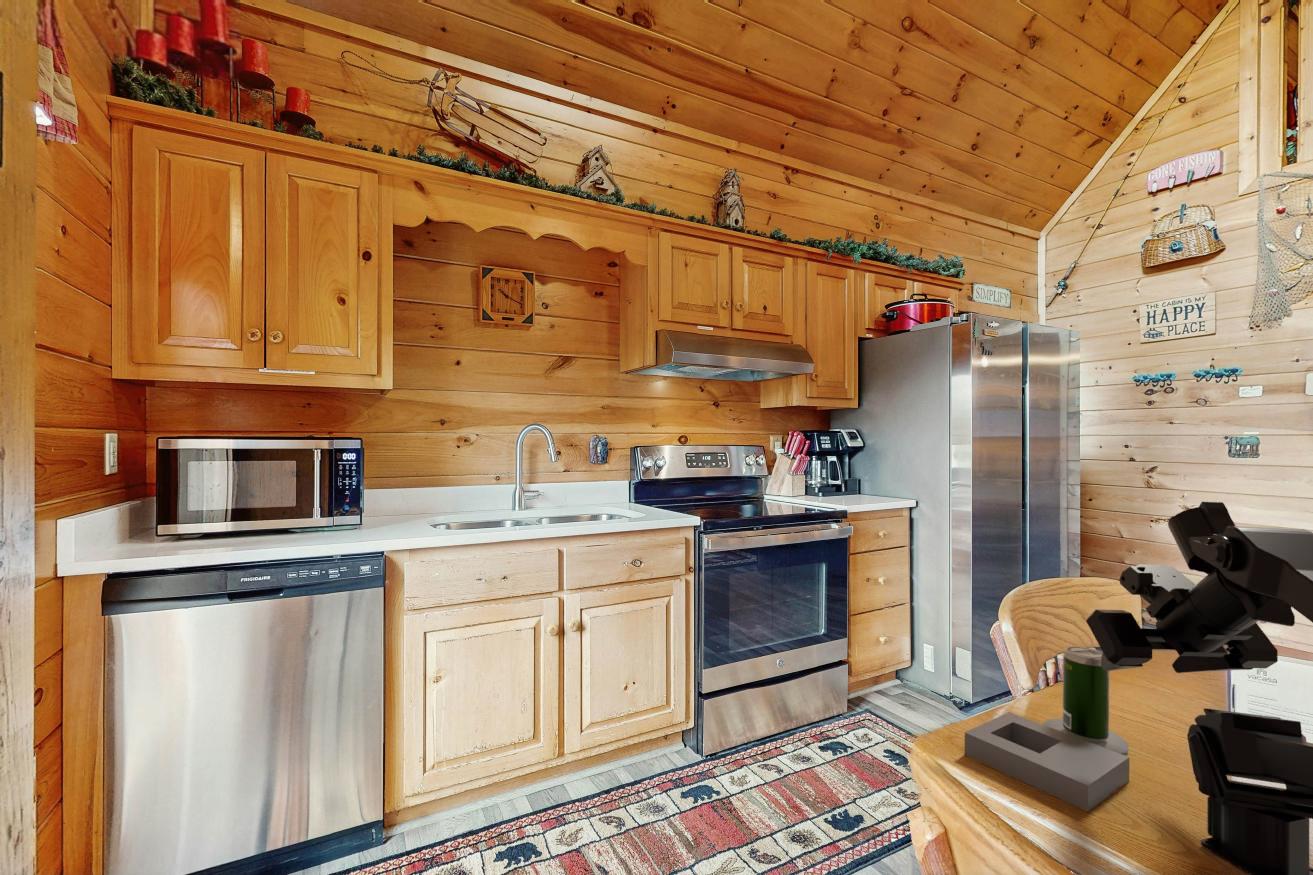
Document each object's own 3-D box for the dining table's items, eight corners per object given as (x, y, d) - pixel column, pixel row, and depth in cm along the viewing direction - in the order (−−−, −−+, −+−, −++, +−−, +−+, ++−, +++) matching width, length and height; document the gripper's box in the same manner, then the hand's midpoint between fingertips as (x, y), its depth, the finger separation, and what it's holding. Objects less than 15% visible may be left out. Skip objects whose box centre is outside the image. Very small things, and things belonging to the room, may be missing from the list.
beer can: (1080, 744, 81) (1081, 658, 81) (1053, 725, 87) (1054, 645, 87) (1118, 744, 81) (1119, 659, 81) (1089, 726, 87) (1090, 646, 87)
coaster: (1146, 752, 80) (1146, 748, 80) (1091, 761, 78) (1091, 756, 78) (1078, 719, 90) (1078, 715, 90) (1026, 726, 88) (1026, 722, 88)
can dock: (1129, 780, 73) (1129, 756, 73) (1088, 811, 67) (1088, 785, 67) (1009, 732, 86) (1009, 711, 86) (964, 754, 79) (964, 732, 79)
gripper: (1253, 548, 70) (1174, 613, 81) (1097, 545, 71) (1039, 610, 82) (1327, 634, 62) (1228, 693, 73) (1151, 630, 63) (1078, 689, 74)
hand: (1139, 668), depth 76 cm, fingers open, 9 cm apart
